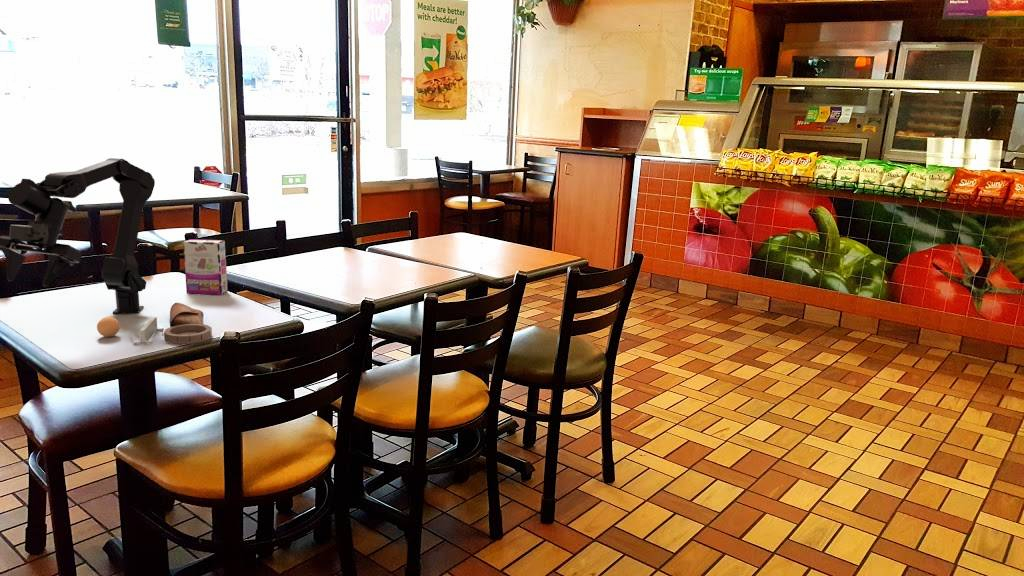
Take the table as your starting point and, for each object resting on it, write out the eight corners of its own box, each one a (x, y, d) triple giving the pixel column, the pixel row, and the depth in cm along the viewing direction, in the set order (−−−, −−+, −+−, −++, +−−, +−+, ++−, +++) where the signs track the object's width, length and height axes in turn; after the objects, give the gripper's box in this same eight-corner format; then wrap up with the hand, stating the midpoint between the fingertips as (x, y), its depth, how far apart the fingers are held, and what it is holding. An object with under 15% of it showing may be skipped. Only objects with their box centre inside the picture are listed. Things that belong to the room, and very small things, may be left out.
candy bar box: (228, 292, 235) (225, 240, 232) (222, 296, 231) (219, 242, 227) (193, 290, 236) (189, 238, 232) (185, 294, 231) (182, 241, 227)
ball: (101, 333, 190) (99, 314, 189) (123, 333, 191) (121, 314, 190) (95, 339, 185) (93, 320, 184) (117, 339, 186) (115, 319, 185)
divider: (147, 330, 194) (146, 316, 194) (163, 329, 195) (162, 316, 194) (133, 344, 183) (132, 330, 182) (151, 344, 184) (150, 330, 183)
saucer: (170, 331, 194) (169, 324, 193) (215, 331, 196) (215, 323, 195) (159, 345, 183) (158, 336, 183) (207, 344, 185) (207, 335, 185)
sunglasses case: (206, 328, 196) (190, 307, 193) (181, 343, 194) (165, 322, 191) (203, 311, 212) (188, 292, 209) (180, 326, 210) (165, 306, 207)
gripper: (-11, 204, 176) (-35, 267, 172) (62, 213, 174) (39, 278, 169) (23, 222, 187) (1, 281, 182) (92, 231, 184) (71, 292, 180)
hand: (26, 283), depth 178 cm, fingers open, 9 cm apart
